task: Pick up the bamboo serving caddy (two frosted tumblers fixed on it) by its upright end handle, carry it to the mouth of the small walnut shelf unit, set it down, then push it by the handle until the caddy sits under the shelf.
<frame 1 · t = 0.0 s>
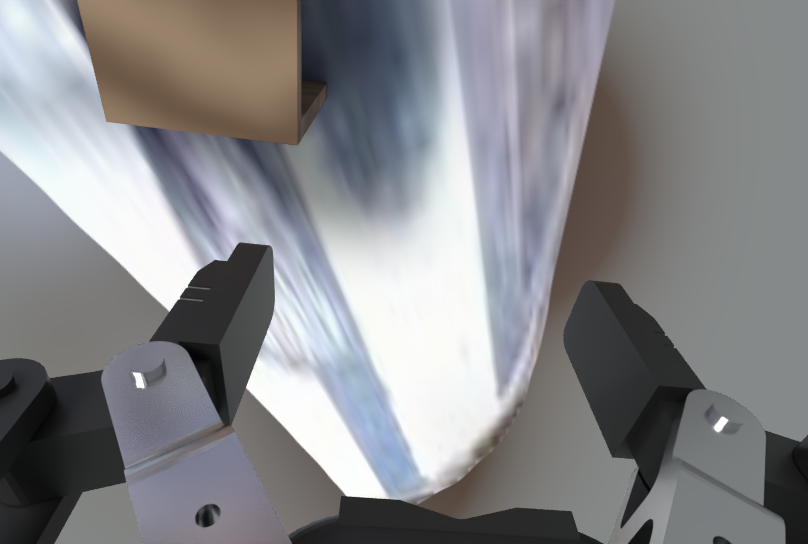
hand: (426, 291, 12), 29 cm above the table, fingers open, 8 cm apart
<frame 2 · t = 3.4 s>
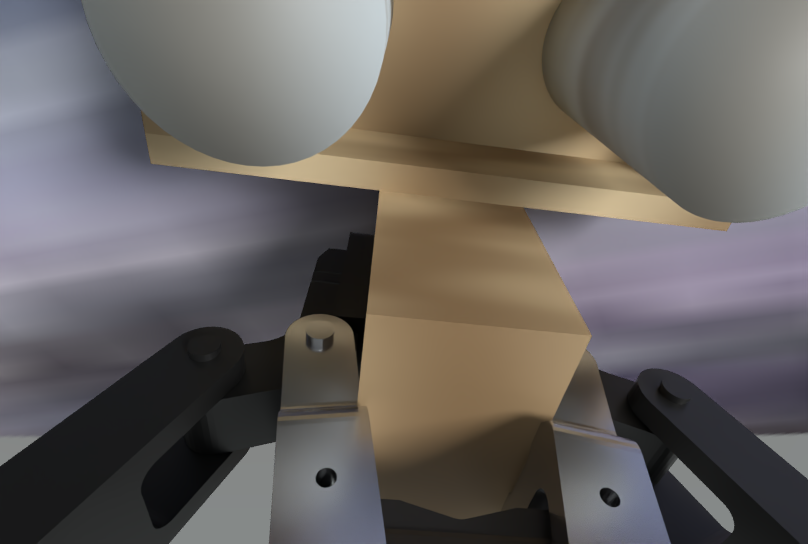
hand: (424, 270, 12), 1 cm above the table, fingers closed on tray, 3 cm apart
tray: (464, 21, 10), on the table, touching gripper
when the fingers open (3 cm above the table, at t = 7.9 s): tray stays where it is, on the table.
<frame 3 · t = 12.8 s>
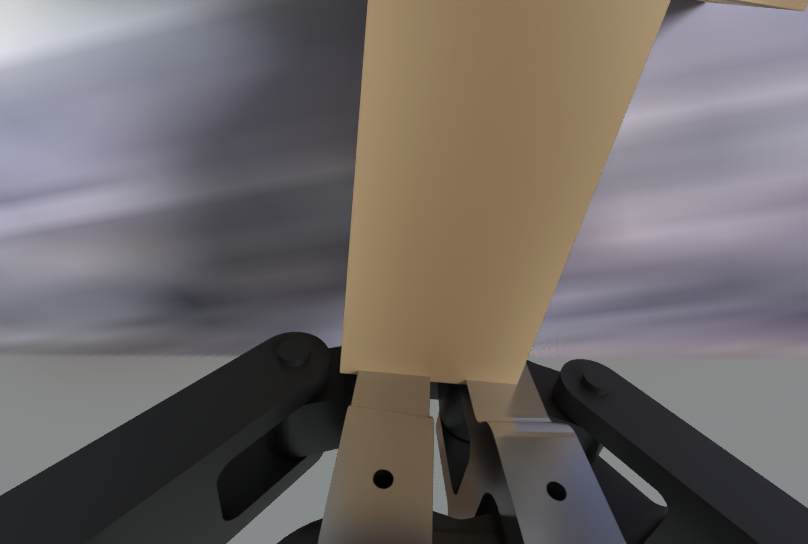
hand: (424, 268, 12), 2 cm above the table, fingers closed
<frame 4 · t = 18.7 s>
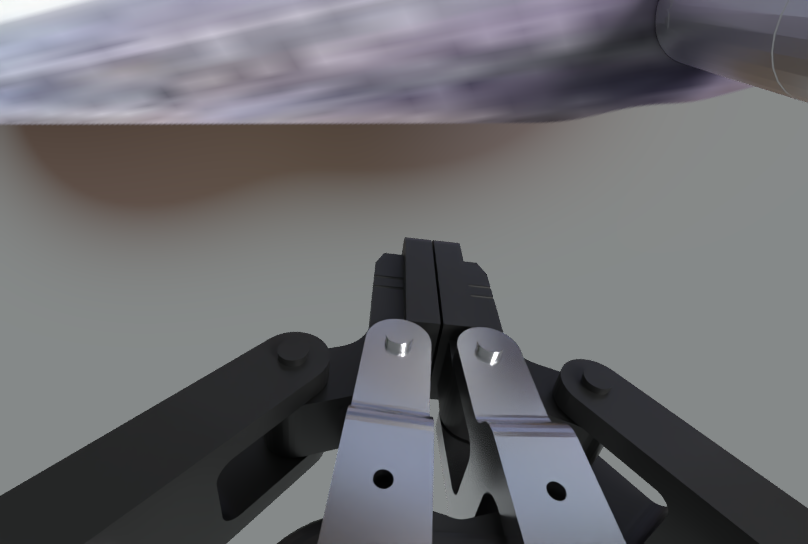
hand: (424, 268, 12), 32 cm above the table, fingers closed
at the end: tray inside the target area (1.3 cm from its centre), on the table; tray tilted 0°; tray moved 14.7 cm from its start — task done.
